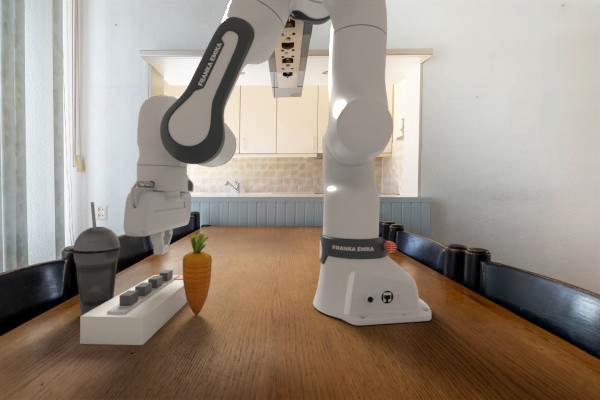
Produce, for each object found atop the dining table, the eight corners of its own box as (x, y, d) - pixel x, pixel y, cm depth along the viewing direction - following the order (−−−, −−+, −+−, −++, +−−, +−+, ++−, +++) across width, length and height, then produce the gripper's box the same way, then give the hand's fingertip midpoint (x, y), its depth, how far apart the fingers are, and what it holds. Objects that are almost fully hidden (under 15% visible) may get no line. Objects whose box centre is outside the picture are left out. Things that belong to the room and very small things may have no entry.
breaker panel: (195, 294, 65) (195, 266, 65) (142, 345, 43) (143, 303, 43) (154, 293, 65) (154, 265, 65) (80, 343, 43) (80, 302, 43)
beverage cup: (96, 323, 50) (97, 203, 49) (60, 318, 51) (61, 202, 51) (129, 307, 57) (130, 202, 56) (97, 303, 58) (98, 201, 58)
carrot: (182, 311, 56) (184, 230, 55) (210, 308, 57) (211, 230, 57) (180, 322, 51) (181, 234, 51) (211, 319, 52) (212, 233, 52)
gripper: (152, 180, 48) (151, 266, 48) (196, 184, 68) (195, 245, 68) (112, 179, 48) (112, 265, 48) (168, 183, 68) (168, 244, 68)
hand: (161, 253), depth 58 cm, fingers closed
